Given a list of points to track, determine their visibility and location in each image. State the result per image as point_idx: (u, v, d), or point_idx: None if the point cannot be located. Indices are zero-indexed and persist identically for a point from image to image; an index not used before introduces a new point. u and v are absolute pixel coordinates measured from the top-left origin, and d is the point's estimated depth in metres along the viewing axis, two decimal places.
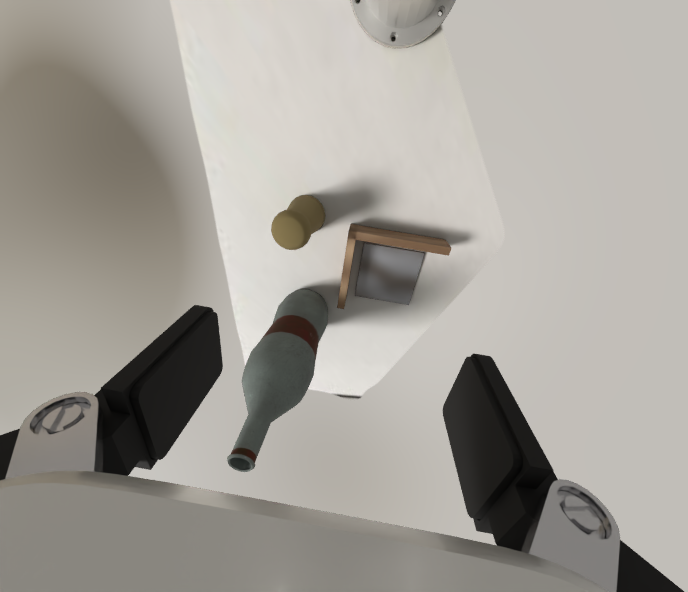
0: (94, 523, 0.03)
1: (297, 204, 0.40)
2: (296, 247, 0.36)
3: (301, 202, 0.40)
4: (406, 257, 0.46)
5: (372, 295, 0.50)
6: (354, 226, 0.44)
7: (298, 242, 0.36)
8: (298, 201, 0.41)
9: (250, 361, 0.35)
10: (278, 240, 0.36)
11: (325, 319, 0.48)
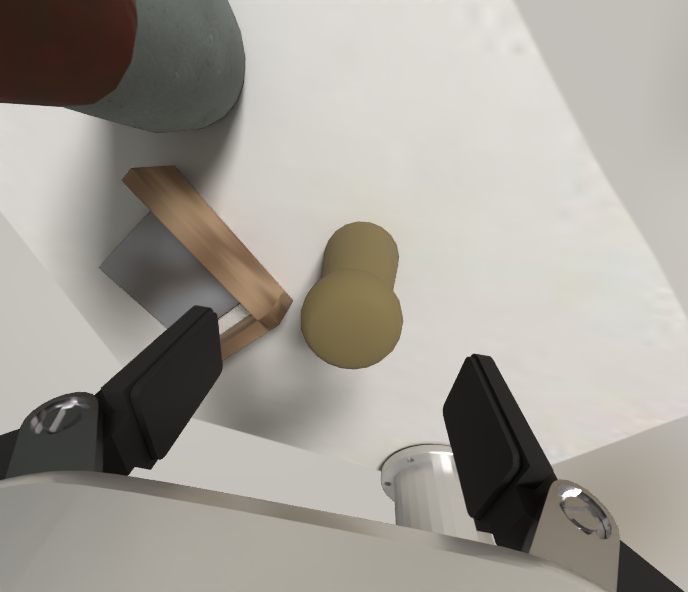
0: (94, 523, 0.03)
1: None
2: (307, 317, 0.13)
3: None
4: None
5: (145, 230, 0.23)
6: None
7: (311, 334, 0.13)
8: None
9: None
10: (355, 304, 0.12)
11: None
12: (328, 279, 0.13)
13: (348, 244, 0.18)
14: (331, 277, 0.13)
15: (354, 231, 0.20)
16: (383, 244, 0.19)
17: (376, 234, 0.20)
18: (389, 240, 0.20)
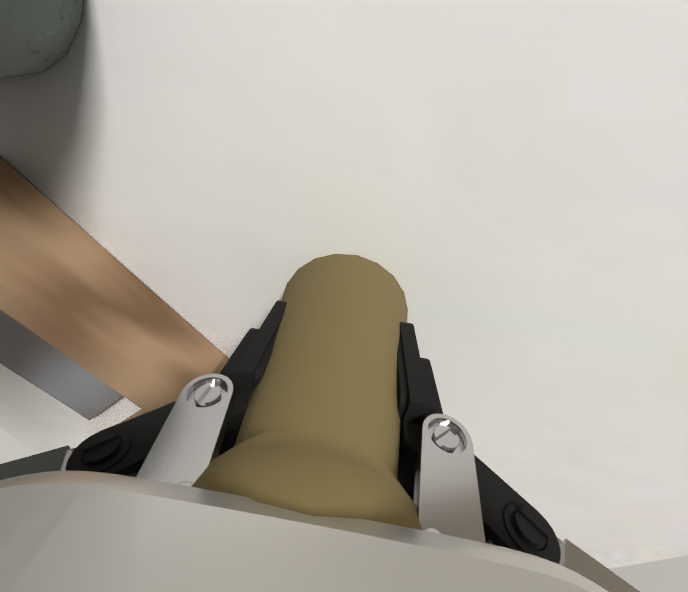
0: (94, 523, 0.03)
1: None
2: None
3: None
4: (92, 396, 0.18)
5: None
6: None
7: None
8: None
9: None
10: None
11: None
12: None
13: (309, 315, 0.09)
14: None
15: (326, 278, 0.10)
16: (380, 305, 0.10)
17: (367, 283, 0.10)
18: (391, 290, 0.11)
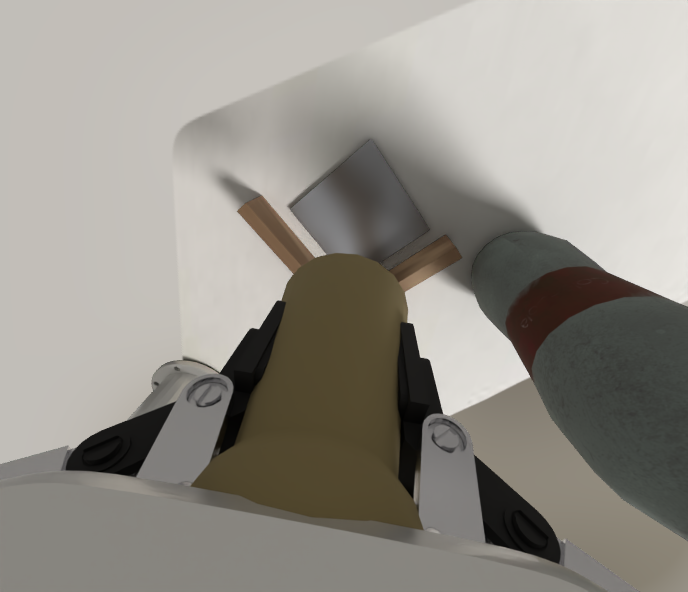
0: (94, 523, 0.03)
1: None
2: None
3: None
4: (315, 223, 0.28)
5: (406, 207, 0.27)
6: None
7: None
8: None
9: None
10: None
11: (499, 261, 0.24)
12: None
13: (309, 313, 0.09)
14: None
15: (326, 277, 0.10)
16: (381, 304, 0.10)
17: (368, 282, 0.10)
18: (392, 289, 0.11)
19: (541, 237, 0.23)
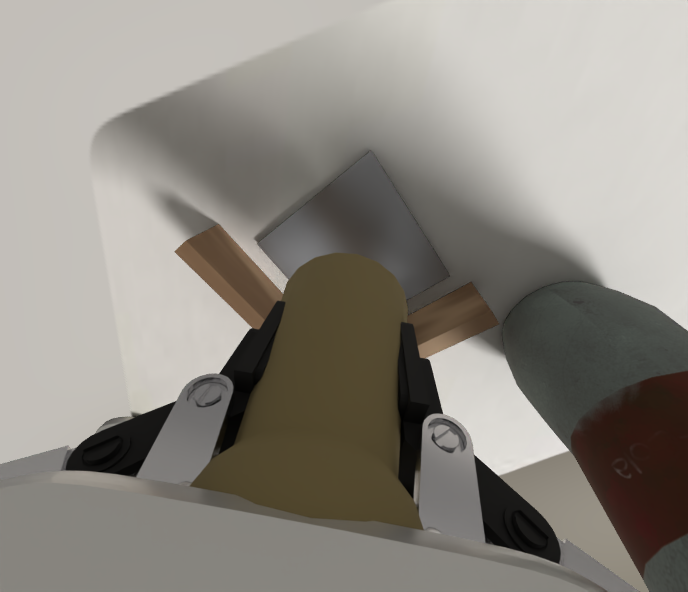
0: (94, 523, 0.03)
1: None
2: None
3: None
4: (293, 263, 0.21)
5: (418, 246, 0.19)
6: None
7: None
8: None
9: None
10: None
11: (554, 334, 0.16)
12: None
13: (309, 313, 0.09)
14: None
15: (326, 276, 0.10)
16: (380, 304, 0.10)
17: (368, 282, 0.10)
18: (392, 289, 0.11)
19: (619, 301, 0.16)
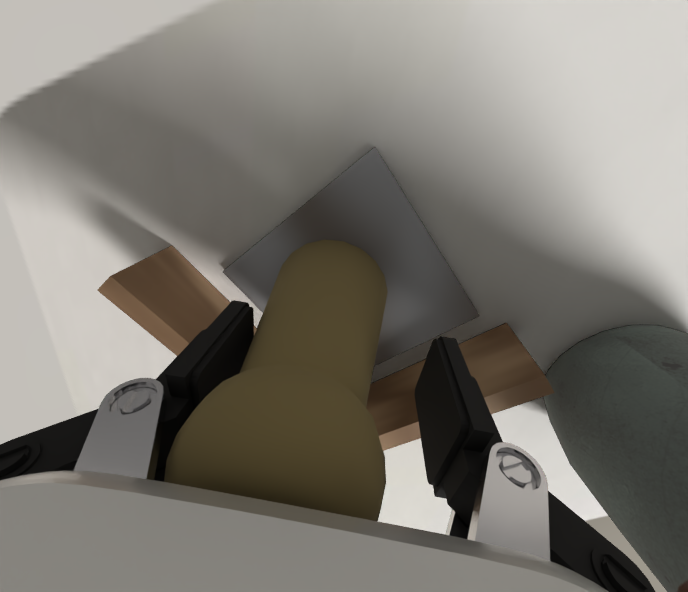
0: (94, 523, 0.03)
1: None
2: None
3: None
4: None
5: (438, 278, 0.14)
6: None
7: None
8: None
9: None
10: (265, 499, 0.05)
11: (640, 414, 0.11)
12: (215, 410, 0.06)
13: (298, 286, 0.10)
14: (223, 404, 0.06)
15: (315, 258, 0.12)
16: (360, 282, 0.12)
17: (350, 264, 0.12)
18: (372, 271, 0.13)
19: None
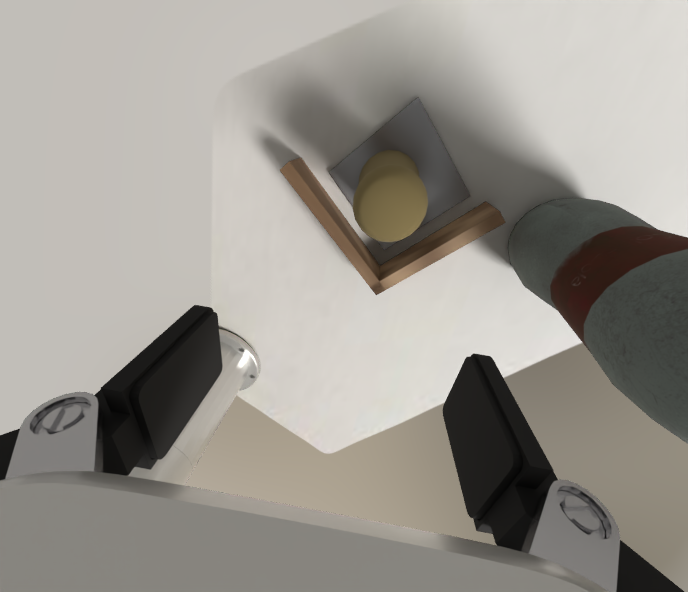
0: (94, 523, 0.03)
1: None
2: (361, 195, 0.18)
3: None
4: (354, 187, 0.28)
5: (448, 171, 0.26)
6: None
7: (363, 209, 0.18)
8: None
9: None
10: (397, 182, 0.17)
11: (544, 226, 0.23)
12: (376, 168, 0.18)
13: (383, 160, 0.23)
14: (378, 167, 0.18)
15: (386, 154, 0.24)
16: (409, 163, 0.24)
17: (404, 157, 0.25)
18: (413, 164, 0.25)
19: (590, 201, 0.23)
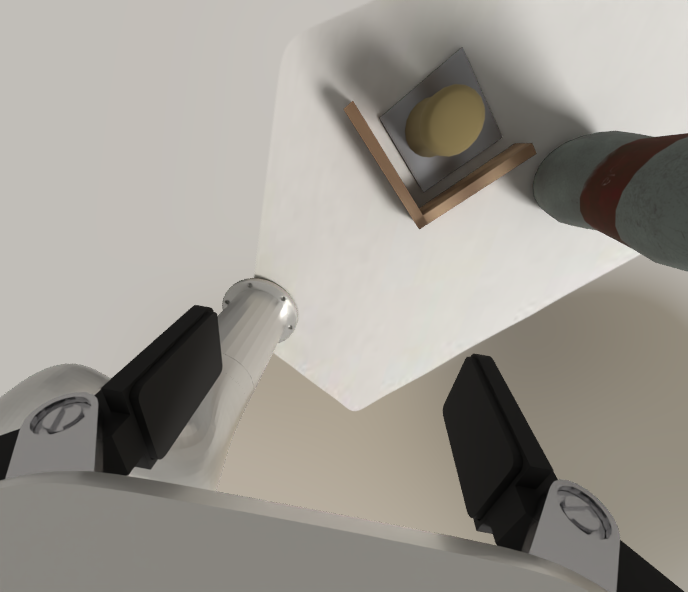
0: (94, 523, 0.03)
1: None
2: (431, 109, 0.22)
3: None
4: (400, 132, 0.32)
5: None
6: None
7: (433, 121, 0.22)
8: None
9: None
10: (464, 95, 0.21)
11: (570, 153, 0.28)
12: (444, 87, 0.22)
13: None
14: (445, 87, 0.22)
15: None
16: None
17: None
18: None
19: (608, 132, 0.27)
